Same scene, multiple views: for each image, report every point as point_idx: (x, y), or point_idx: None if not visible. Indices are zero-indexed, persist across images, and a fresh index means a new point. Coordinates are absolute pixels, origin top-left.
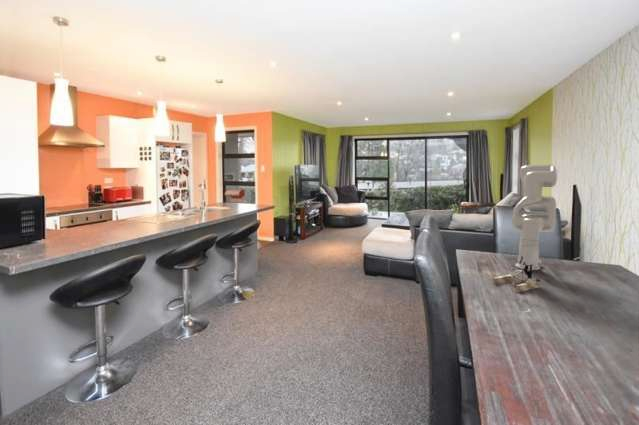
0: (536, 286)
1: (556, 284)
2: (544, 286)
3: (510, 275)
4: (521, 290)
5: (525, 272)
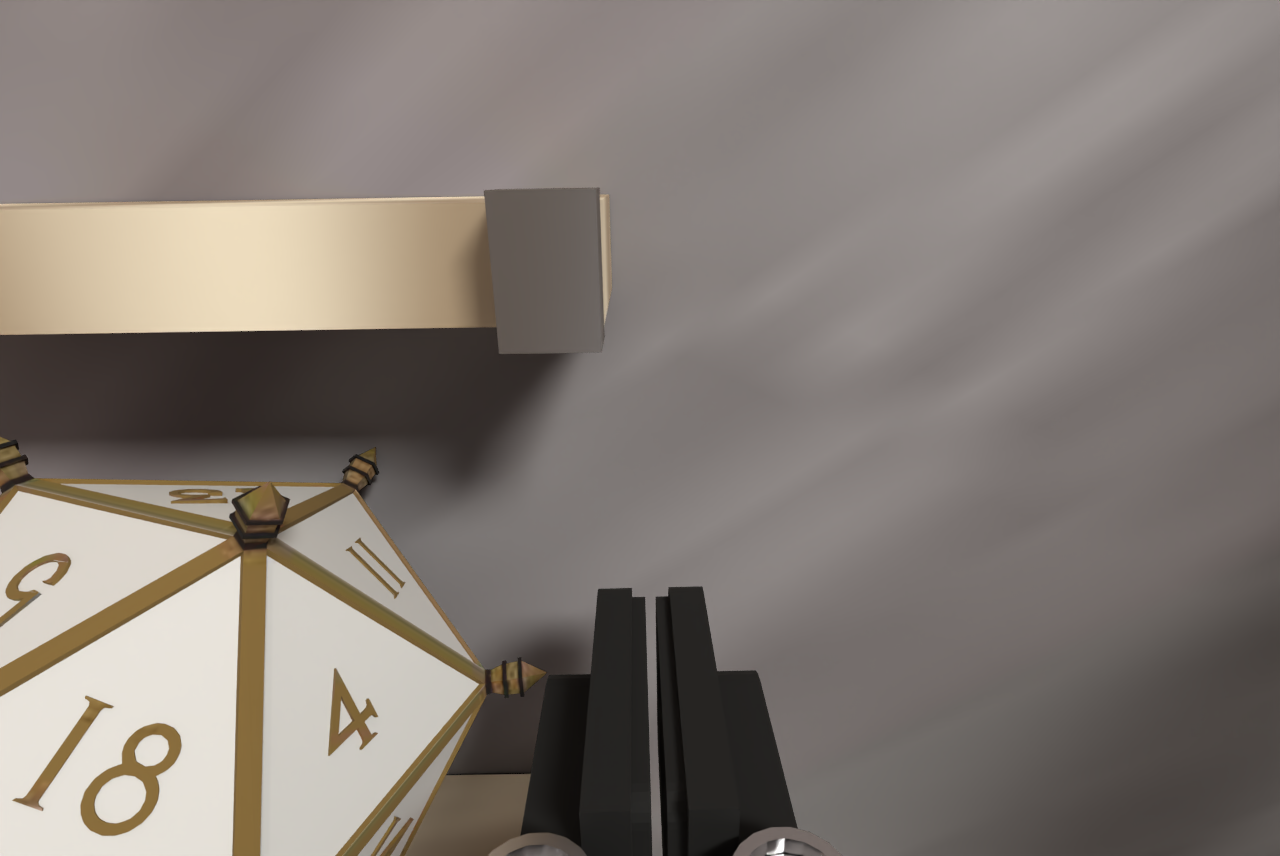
0: None
1: (1090, 839)
2: None
3: (236, 320)
4: None
5: (530, 810)
